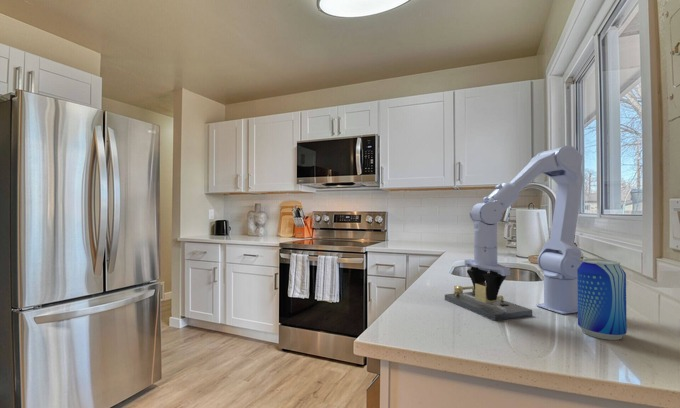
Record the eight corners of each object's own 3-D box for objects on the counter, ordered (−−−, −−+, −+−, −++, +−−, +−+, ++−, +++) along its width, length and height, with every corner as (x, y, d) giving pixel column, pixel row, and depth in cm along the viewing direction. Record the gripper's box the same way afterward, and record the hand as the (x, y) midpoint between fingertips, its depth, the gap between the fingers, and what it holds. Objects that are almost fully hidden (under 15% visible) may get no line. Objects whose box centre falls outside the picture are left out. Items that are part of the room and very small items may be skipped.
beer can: (568, 327, 76) (568, 258, 76) (601, 326, 77) (600, 257, 77) (601, 342, 68) (600, 264, 68) (637, 340, 69) (636, 264, 69)
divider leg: (497, 300, 92) (497, 281, 92) (509, 304, 88) (508, 284, 88) (475, 302, 90) (475, 283, 90) (485, 306, 86) (485, 286, 86)
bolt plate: (477, 296, 103) (477, 283, 104) (532, 315, 84) (532, 300, 85) (444, 299, 100) (444, 286, 100) (494, 320, 81) (494, 304, 81)
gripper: (455, 244, 94) (455, 292, 94) (494, 251, 80) (494, 306, 80) (475, 243, 96) (476, 290, 96) (516, 249, 83) (517, 304, 82)
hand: (485, 297), depth 88 cm, fingers closed on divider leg, 4 cm apart
